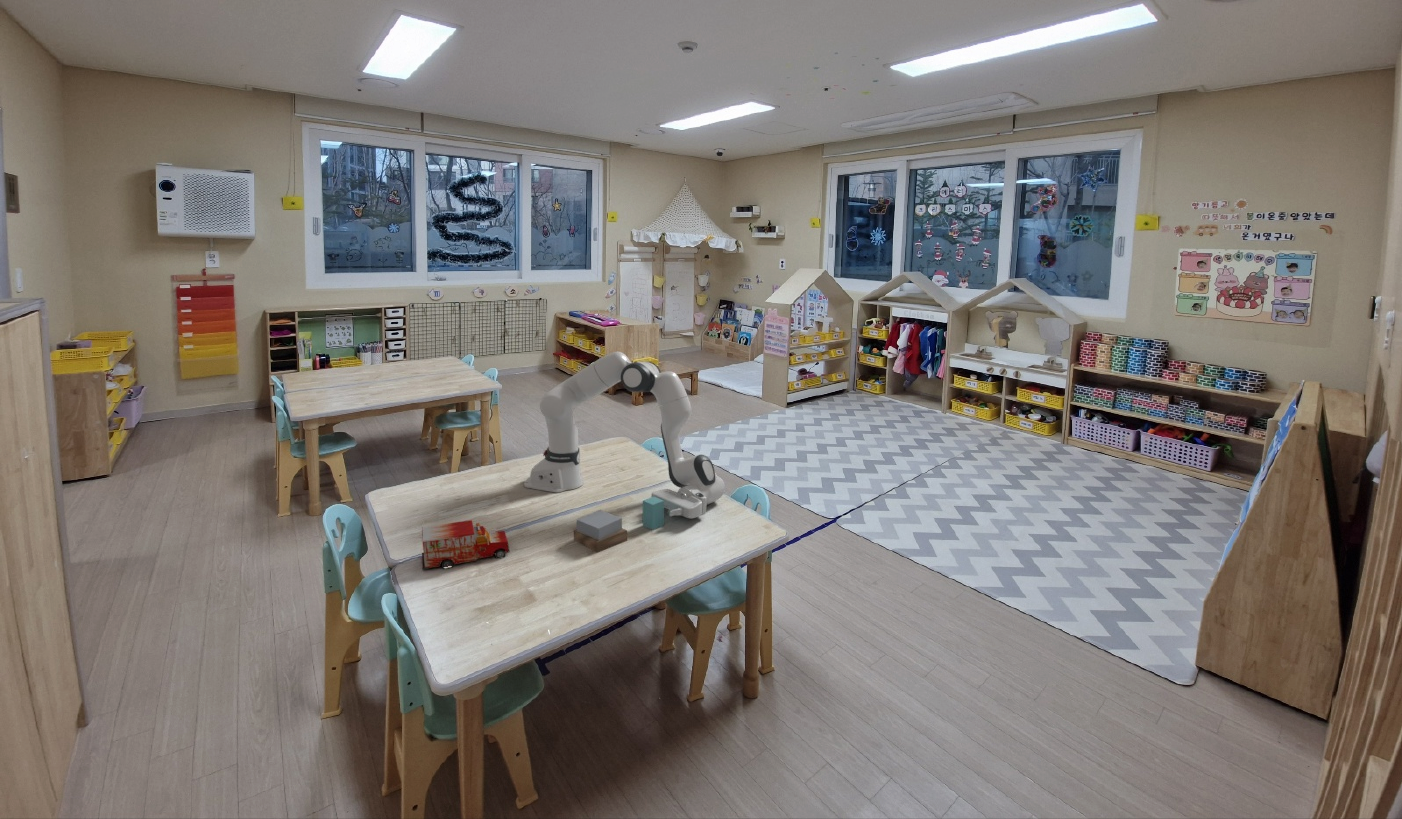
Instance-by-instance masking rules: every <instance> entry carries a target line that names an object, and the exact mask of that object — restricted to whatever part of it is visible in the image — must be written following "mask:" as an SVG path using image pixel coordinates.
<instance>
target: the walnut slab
mask: <svg viewBox="0 0 1402 819" xmlns="http://www.w3.org/2000/svg"><path fill="white" fill-rule="evenodd" d="M573 540H574V541H575V542H577V543H579V544H580V545H582V546H584V547H586V548H588V549H590V550H591V551H593V552H595V553H600V552H602V551H605V550H607V549H609V548H611V547H615V546H617V545H619V544H622V543H624V542H627V541H628V530H627V529H625V528H623V527H622V530H620V531H618V532H616V533H614V534H612V535H610V536H608V537H605V538H603V539H601V540H597V539H594V538H592V537H589V536H587V535H585V534H582V533H580V532H578V531H577V528H575V529H574V530H573Z"/></svg>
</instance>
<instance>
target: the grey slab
mask: <svg viewBox="0 0 1402 819" xmlns="http://www.w3.org/2000/svg"><path fill="white" fill-rule="evenodd" d="M622 528H623V518H622V517H621V516H617V515H614V514H611V513H609V512H606V511H604V510H602V509H599V510H596V511H594V512H591V513H589V514H587V515H584V516H582V517H580V518H577V519H576V529H577V531H578V532H580V533H582V534H585V535H587V536H589V537H592V538H594V539H597V540H601V539H603V538H605V537H608V536H610V535H612V534H614V533H616V532H618V531H620V530H622Z"/></svg>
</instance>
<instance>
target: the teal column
mask: <svg viewBox="0 0 1402 819" xmlns="http://www.w3.org/2000/svg"><path fill="white" fill-rule="evenodd" d="M664 525H665V508H664V501H663V500H661V499H659V498H656V497H651V496H650V497H649V498H646V499H643V500H642V526H643V527H645V528H648V529H650V530H651V531H655V530H656V529H659V528H662V527H663V526H664Z"/></svg>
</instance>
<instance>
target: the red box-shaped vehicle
mask: <svg viewBox="0 0 1402 819" xmlns="http://www.w3.org/2000/svg"><path fill="white" fill-rule="evenodd" d="M421 534H422V535H421V536H422V537H421V540H422V541H421V542H422V551H423V552H422V553H421V564H422V565H421V566H422V570H427V569H432V567H434V568H439V567H441V564H442V568H443V567H448V566H452V567H453V566H454V565H457V564H463V563H469V562H470V563H471V562H475V561H476V562H477V561H478V559H484V558H488V557H489V558H490V557H494V555H495V558H497V559H502V558H501V557H504V558H505V557H506V553H509V552H510V544H509V541H508V537H507V534H506V532H505V530H497V531H488V530H487V529H486V527H485V526H484V525H482V526H481V525H480V522H477V523H475V526H474V523H473V520H471V519H470V520H464V521H456V522H449V523H442V524H435V525H434V524H433V525H427V526H423V527H421Z"/></svg>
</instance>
